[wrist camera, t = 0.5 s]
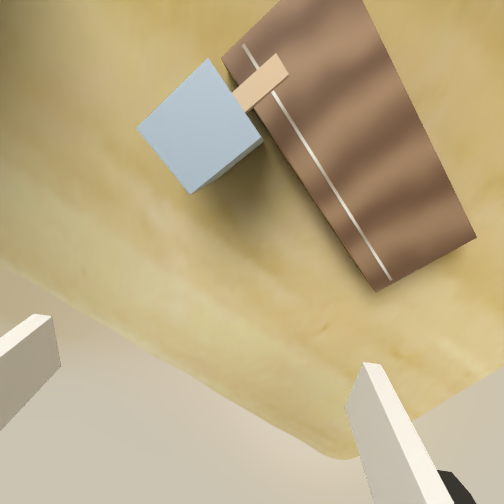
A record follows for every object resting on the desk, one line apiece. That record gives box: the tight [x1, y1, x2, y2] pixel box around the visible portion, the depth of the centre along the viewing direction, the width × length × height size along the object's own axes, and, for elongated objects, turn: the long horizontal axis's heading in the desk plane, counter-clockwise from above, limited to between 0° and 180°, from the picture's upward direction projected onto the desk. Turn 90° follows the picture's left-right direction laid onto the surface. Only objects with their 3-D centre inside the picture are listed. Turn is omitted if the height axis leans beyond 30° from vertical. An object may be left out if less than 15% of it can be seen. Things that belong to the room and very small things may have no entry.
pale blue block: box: [136, 53, 289, 195], centre depth 24 cm, size 6×11×12 cm, turn 127°
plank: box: [221, 0, 477, 292], centre depth 28 cm, size 30×12×4 cm, turn 37°
